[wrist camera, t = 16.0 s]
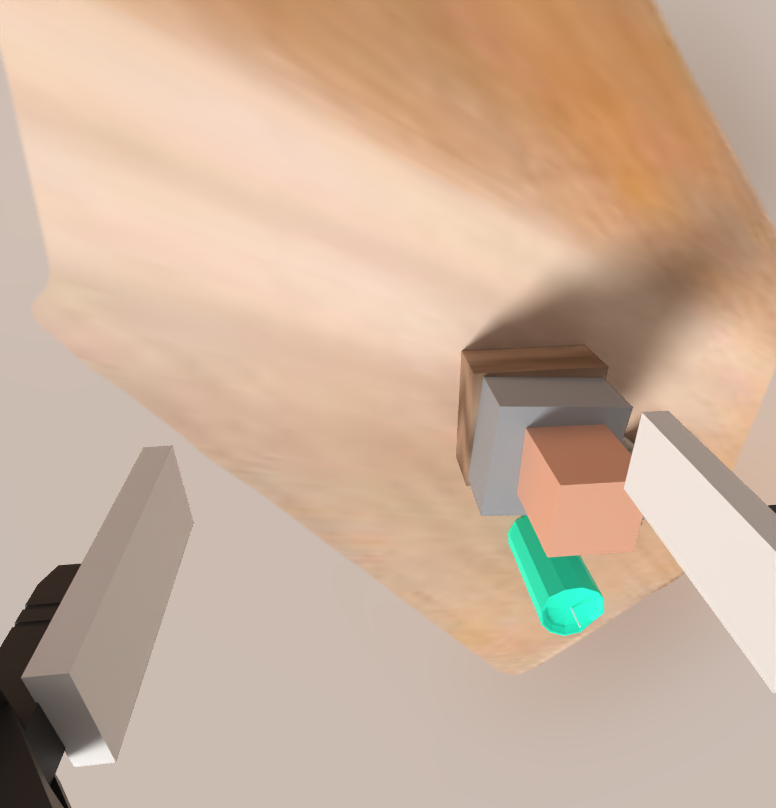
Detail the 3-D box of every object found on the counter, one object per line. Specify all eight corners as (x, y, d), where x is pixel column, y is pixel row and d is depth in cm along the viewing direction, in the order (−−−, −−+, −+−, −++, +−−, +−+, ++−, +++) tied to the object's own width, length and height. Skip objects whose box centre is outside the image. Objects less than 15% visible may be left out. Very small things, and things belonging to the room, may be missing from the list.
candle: (516, 561, 60) (555, 657, 49) (500, 523, 57) (538, 616, 46) (568, 542, 59) (619, 635, 48) (555, 503, 56) (606, 593, 46)
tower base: (461, 349, 47) (473, 373, 43) (583, 343, 48) (608, 366, 44) (455, 454, 53) (466, 485, 48) (565, 447, 53) (586, 477, 49)
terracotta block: (525, 427, 40) (560, 485, 34) (604, 424, 40) (653, 480, 34) (516, 493, 43) (547, 557, 37) (590, 489, 43) (633, 551, 37)
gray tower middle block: (483, 376, 43) (500, 406, 39) (603, 377, 44) (632, 407, 40) (467, 478, 48) (481, 516, 43) (576, 478, 49) (600, 514, 44)
